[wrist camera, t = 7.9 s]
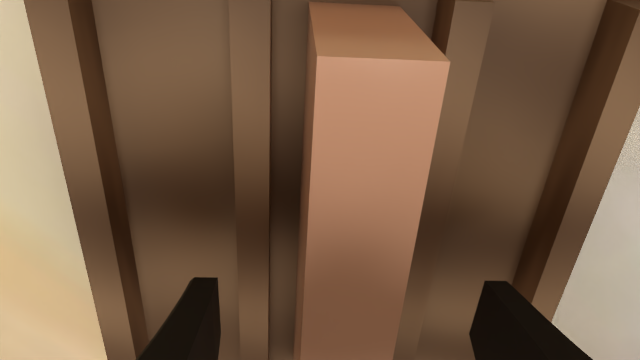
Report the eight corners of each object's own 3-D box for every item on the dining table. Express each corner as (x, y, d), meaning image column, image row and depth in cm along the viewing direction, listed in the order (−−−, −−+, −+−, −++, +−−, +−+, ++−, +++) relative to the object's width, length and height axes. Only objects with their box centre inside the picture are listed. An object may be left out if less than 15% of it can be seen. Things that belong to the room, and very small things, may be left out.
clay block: (353, 355, 21) (369, 478, 16) (292, 355, 20) (293, 479, 16) (400, 6, 14) (450, 61, 9) (308, 1, 13) (317, 56, 9)
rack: (510, 359, 22) (530, 401, 20) (121, 360, 21) (105, 405, 19) (652, -22, 14) (705, -8, 12) (31, -57, 13) (-11, -48, 11)
